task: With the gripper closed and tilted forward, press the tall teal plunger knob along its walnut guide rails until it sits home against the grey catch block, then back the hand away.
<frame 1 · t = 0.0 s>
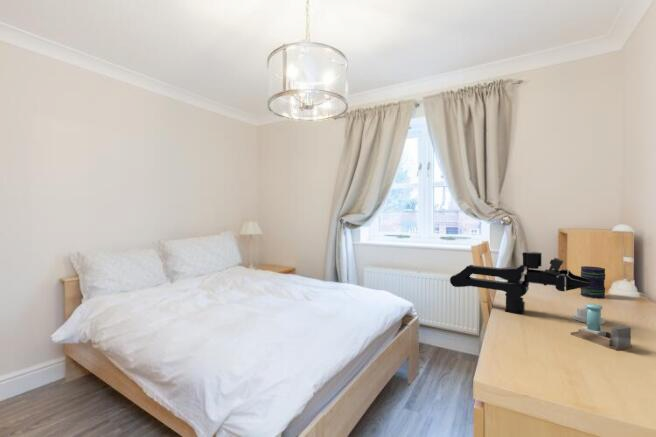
hand: (589, 282, 120), 17 cm above the table, tool horizontal, fingers open, 9 cm apart
storage jar: (592, 296, 162), on the table
mount: (606, 342, 103), on the table
knob: (593, 320, 107), point 6 cm above the table, slide at 4.0 cm
mechanical component: (588, 321, 125), on the table
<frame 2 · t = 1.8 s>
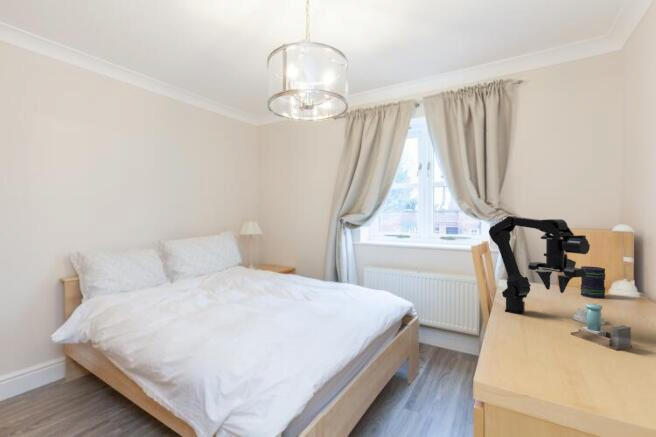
hand: (554, 291, 120), 13 cm above the table, tool pointing down, fingers open, 5 cm apart
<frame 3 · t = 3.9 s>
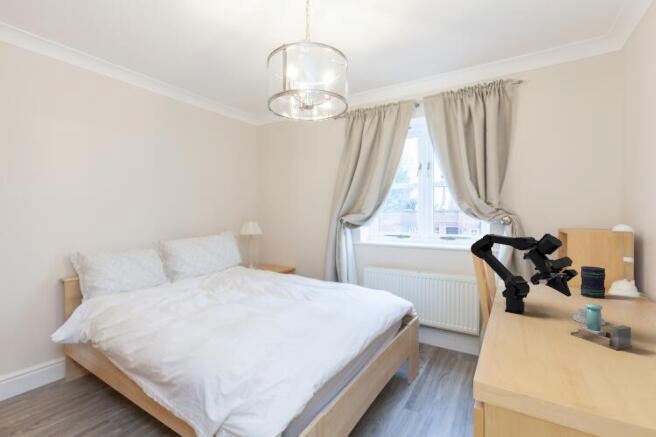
hand: (569, 296, 114), 13 cm above the table, tool tilted 45°, fingers closed
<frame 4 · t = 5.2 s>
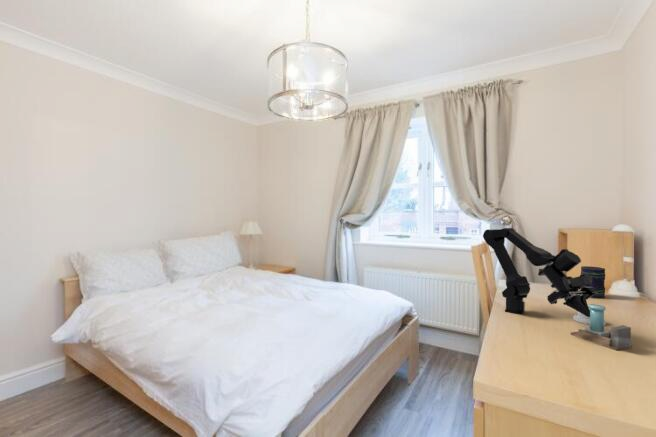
hand: (590, 316, 108), 7 cm above the table, tool tilted 45°, fingers closed, pressing on knob
knob: (596, 321, 106), point 6 cm above the table, slide at 3.0 cm, touching gripper
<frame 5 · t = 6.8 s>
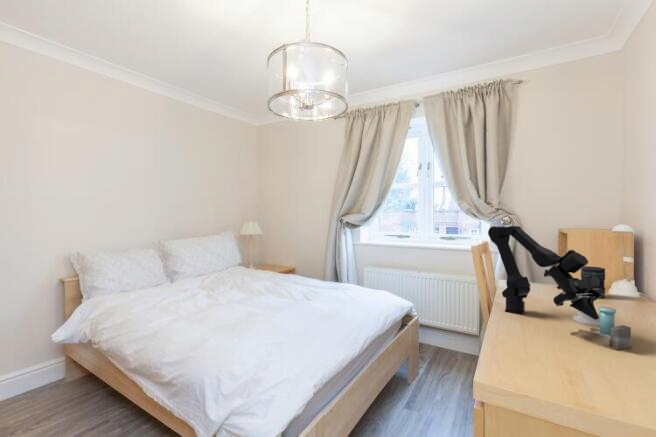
hand: (597, 319, 106), 7 cm above the table, tool tilted 45°, fingers closed
knob: (607, 324, 103), point 6 cm above the table, slide at 0.0 cm
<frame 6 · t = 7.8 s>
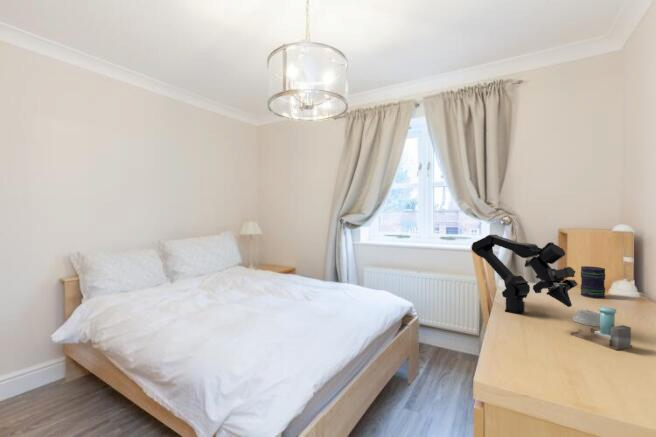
hand: (570, 306, 114), 9 cm above the table, tool tilted 40°, fingers closed
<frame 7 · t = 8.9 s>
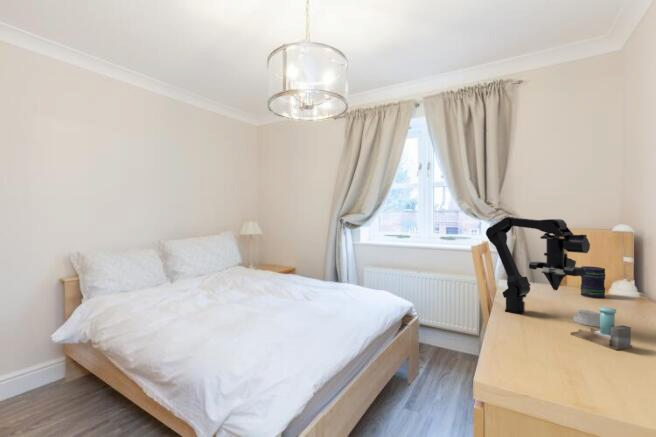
hand: (555, 290, 122), 13 cm above the table, tool pointing down, fingers closed
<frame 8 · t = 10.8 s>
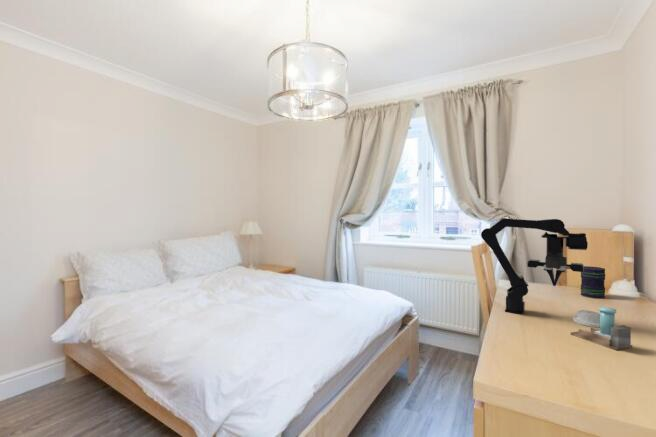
hand: (554, 285, 129), 13 cm above the table, tool pointing down, fingers closed
at the end: knob slide at 0.0 cm; the gripper is holding nothing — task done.
